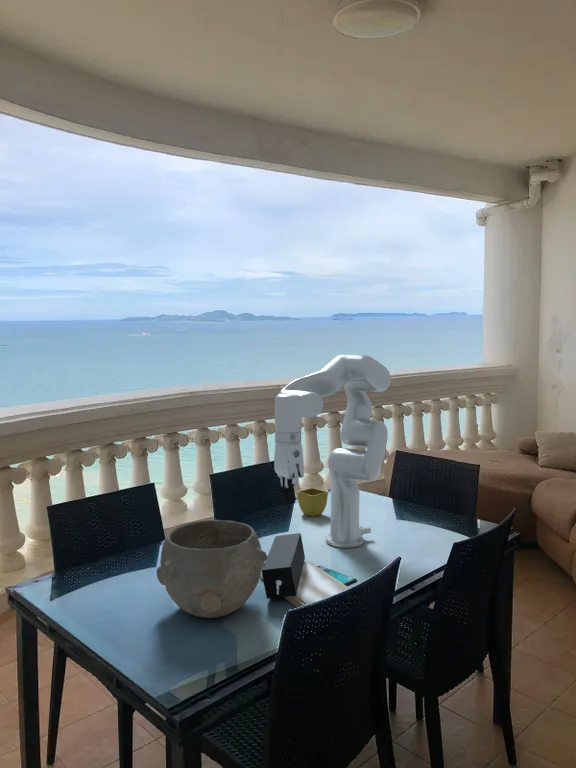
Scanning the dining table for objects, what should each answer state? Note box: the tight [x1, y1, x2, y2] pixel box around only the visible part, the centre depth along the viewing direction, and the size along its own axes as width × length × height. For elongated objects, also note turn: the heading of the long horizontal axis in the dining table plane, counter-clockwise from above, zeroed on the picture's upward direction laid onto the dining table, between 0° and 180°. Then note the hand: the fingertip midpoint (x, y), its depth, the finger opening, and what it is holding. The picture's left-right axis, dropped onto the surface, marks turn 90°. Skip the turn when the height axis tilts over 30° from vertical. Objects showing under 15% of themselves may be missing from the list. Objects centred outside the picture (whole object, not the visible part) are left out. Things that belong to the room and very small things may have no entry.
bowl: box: [156, 519, 268, 619], centre depth 156 cm, size 27×29×20 cm
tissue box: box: [262, 532, 306, 600], centre depth 170 cm, size 8×8×28 cm
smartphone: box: [317, 565, 358, 587], centre depth 177 cm, size 7×1×15 cm
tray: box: [260, 560, 350, 608], centre depth 168 cm, size 16×28×2 cm, turn 29°
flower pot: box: [296, 487, 329, 518], centre depth 236 cm, size 9×9×9 cm
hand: (287, 500), depth 176 cm, fingers closed
